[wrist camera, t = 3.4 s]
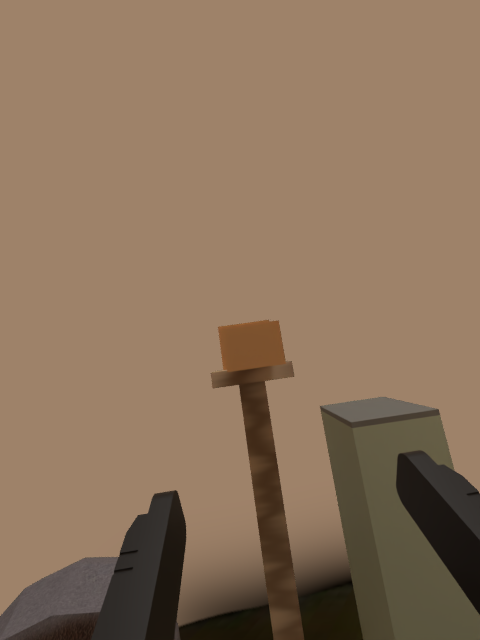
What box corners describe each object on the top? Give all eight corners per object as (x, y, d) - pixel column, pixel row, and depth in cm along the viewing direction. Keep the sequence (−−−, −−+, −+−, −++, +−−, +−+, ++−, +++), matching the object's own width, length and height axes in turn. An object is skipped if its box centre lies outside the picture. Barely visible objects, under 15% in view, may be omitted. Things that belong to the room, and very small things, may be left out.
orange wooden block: (212, 374, 17) (203, 302, 18) (225, 369, 33) (220, 331, 34) (300, 361, 17) (287, 291, 18) (271, 363, 33) (265, 325, 34)
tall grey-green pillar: (427, 799, 18) (351, 422, 23) (366, 658, 27) (320, 406, 32) (534, 779, 19) (438, 409, 23) (439, 645, 28) (383, 396, 32)
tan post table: (260, 795, 20) (210, 372, 25) (254, 671, 28) (217, 370, 33) (363, 776, 20) (291, 361, 25) (328, 659, 28) (279, 361, 33)
